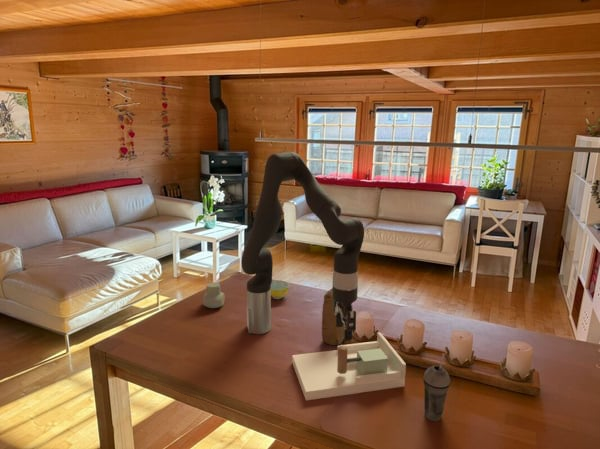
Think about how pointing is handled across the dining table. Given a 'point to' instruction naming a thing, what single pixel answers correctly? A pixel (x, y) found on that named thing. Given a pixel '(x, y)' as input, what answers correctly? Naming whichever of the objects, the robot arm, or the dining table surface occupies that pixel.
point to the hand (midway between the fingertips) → (343, 333)
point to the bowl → (279, 289)
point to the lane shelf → (328, 382)
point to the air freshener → (213, 296)
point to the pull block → (363, 361)
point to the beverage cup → (435, 391)
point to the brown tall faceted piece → (330, 322)
